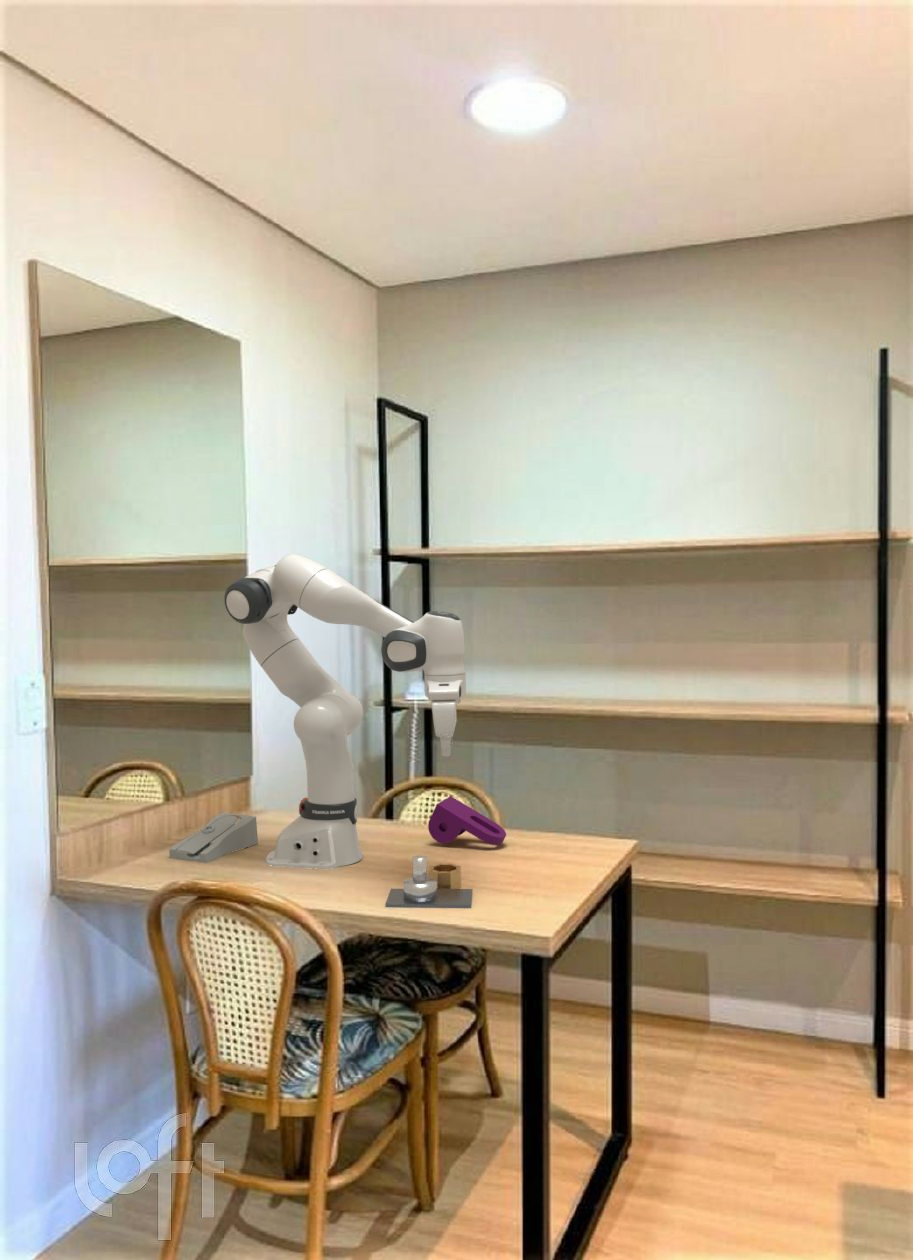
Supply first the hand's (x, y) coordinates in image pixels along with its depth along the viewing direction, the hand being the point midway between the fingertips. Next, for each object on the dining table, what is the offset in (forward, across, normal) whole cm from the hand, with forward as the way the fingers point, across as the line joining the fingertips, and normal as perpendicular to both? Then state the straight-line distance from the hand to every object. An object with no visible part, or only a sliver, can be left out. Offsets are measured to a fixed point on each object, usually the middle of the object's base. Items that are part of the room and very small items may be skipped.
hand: (447, 751), depth 209 cm
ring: (+28, +3, -1) cm, 29 cm away
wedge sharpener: (+28, -27, -59) cm, 70 cm away
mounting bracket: (+30, -32, +10) cm, 45 cm away
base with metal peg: (+28, +12, -4) cm, 31 cm away
